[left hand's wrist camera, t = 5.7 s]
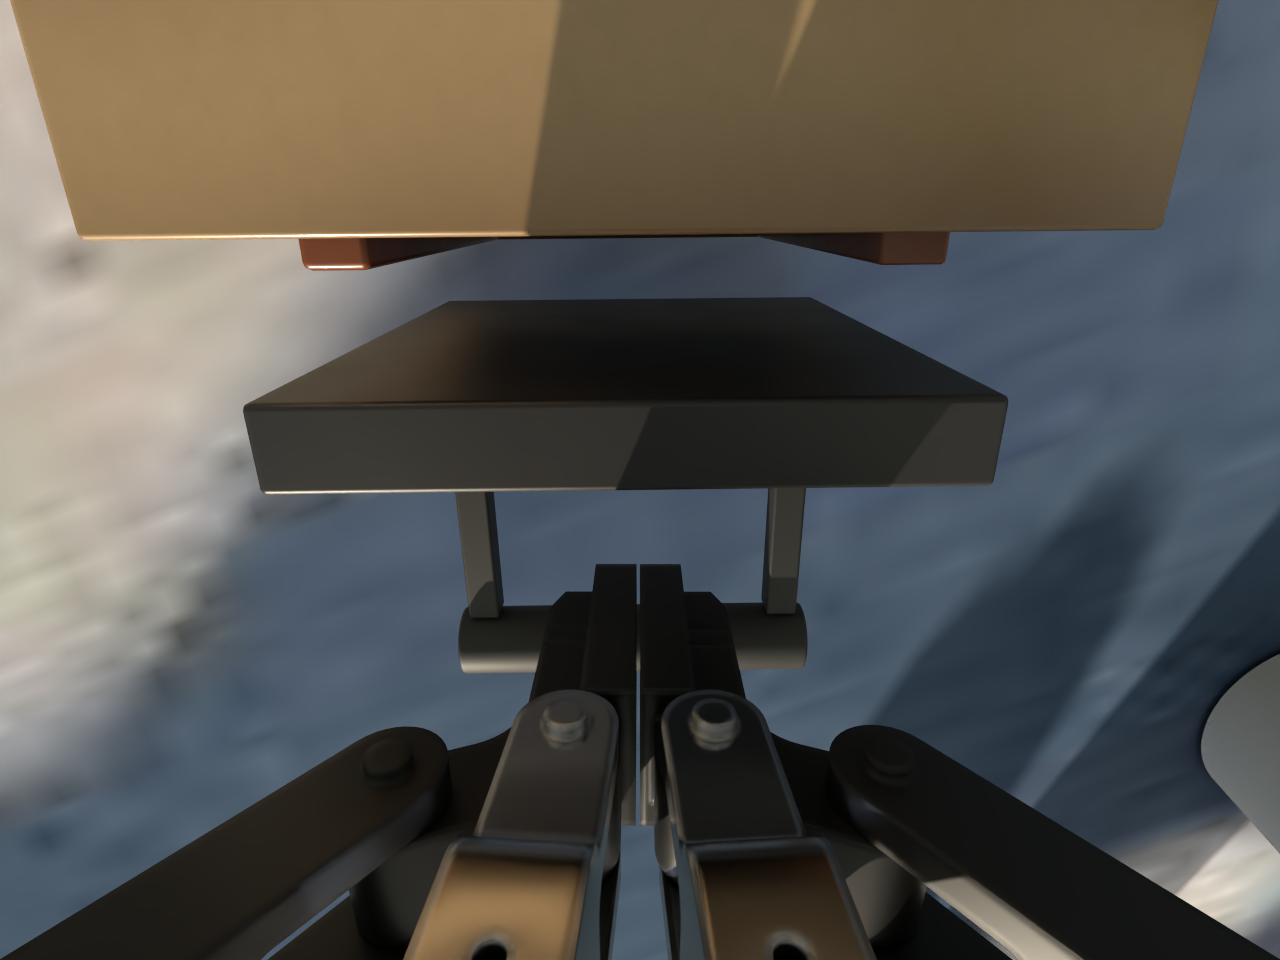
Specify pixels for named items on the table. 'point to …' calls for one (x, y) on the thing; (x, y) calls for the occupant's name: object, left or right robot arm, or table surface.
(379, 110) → the tan wavy patterned box
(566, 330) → the drawer
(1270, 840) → the coffee cup
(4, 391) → the table surface
